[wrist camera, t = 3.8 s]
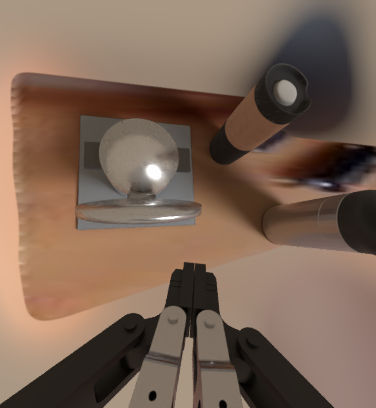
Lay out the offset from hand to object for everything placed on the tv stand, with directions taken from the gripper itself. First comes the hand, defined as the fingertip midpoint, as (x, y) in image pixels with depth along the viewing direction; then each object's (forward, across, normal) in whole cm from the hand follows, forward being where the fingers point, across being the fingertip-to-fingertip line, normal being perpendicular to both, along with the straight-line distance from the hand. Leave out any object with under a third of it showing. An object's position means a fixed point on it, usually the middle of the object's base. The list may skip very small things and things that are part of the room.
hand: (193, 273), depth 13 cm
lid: (+9, +6, -2) cm, 11 cm away
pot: (+26, +12, -1) cm, 29 cm away
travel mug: (+36, -5, -5) cm, 36 cm away
